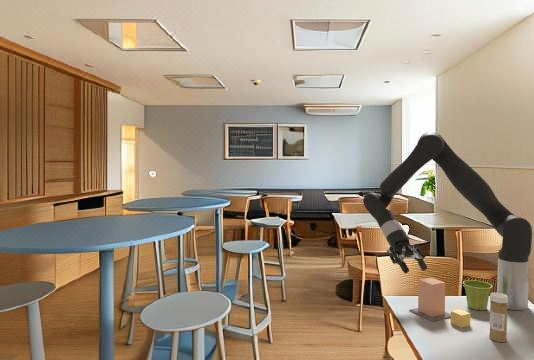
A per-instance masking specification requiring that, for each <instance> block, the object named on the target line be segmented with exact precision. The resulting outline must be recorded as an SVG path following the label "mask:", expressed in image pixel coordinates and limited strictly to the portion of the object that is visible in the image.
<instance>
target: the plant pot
mask: <svg viewBox="0 0 534 360" xmlns="http://www.w3.org/2000/svg"><path fill="white" fill-rule="evenodd" d="M462 285H463V287H464V289H465V297H466V304H467V307H468V308H469V309H472V310H475V311H477V310H480V311H485V310H487V309H488V303H489V300H490V293H491V291H492V289H493V285H492V284H491V283H489V282H487V281H486V282H485V281H482V280H476V279H475V280H474V279H471V280H470V279H469V280H468V279H467V280H464V281H462Z"/></svg>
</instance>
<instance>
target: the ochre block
mask: <svg viewBox="0 0 534 360" xmlns="http://www.w3.org/2000/svg"><path fill="white" fill-rule="evenodd" d="M450 314H451V318H450V324H453V325H455V326H457V327H459V328H465V327H470V326H471V313H470V312H467V311H465V310H462V309H461V308H459V309H454V310H450Z"/></svg>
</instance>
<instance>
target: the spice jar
mask: <svg viewBox="0 0 534 360" xmlns="http://www.w3.org/2000/svg"><path fill="white" fill-rule="evenodd" d="M489 300H490V305H489V307H490V308H489V309H490V310H489V334H488V337H489V338H490V339H491V340H492V341H494V342H497V343H505V342H507V341H508V338H507V330H508V309H507V303H508V296H507V295H505V294H503V293H497V291H496V292H493V291H492V292H490V293H489Z"/></svg>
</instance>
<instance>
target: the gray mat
mask: <svg viewBox="0 0 534 360" xmlns="http://www.w3.org/2000/svg"><path fill="white" fill-rule="evenodd" d="M409 312H411V313H414V314H416V315H418V316H420V317H421V318H424V319H426V320H429V321H430V322H437V321H443V320H445V319H451V313H449V312H447V311H445V314H443V315H438V316H433V317H431V316H429V315H427V314H424V313H422V312H420V311H418V307H414V308H410V309H409Z"/></svg>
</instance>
